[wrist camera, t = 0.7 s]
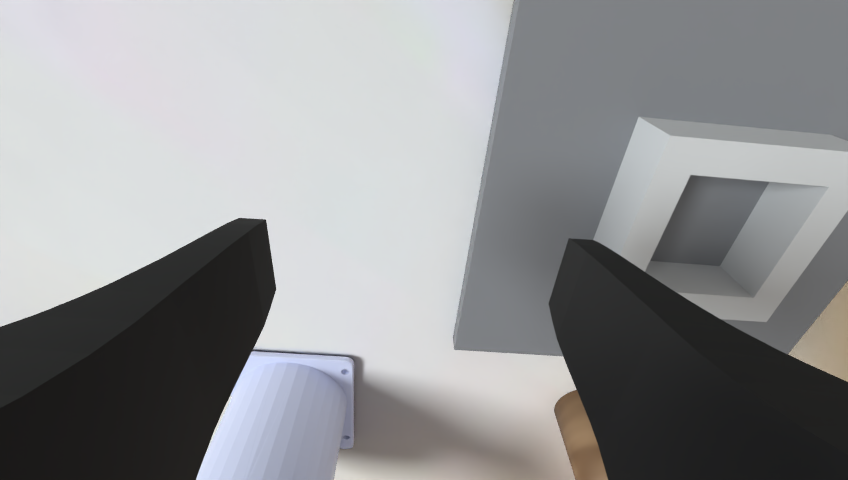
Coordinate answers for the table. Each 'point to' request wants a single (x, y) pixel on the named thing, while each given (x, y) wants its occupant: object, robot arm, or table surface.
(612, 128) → the grey flat piece
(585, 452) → the walnut peg
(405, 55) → the table surface
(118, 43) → the table surface
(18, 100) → the table surface
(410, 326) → the table surface
